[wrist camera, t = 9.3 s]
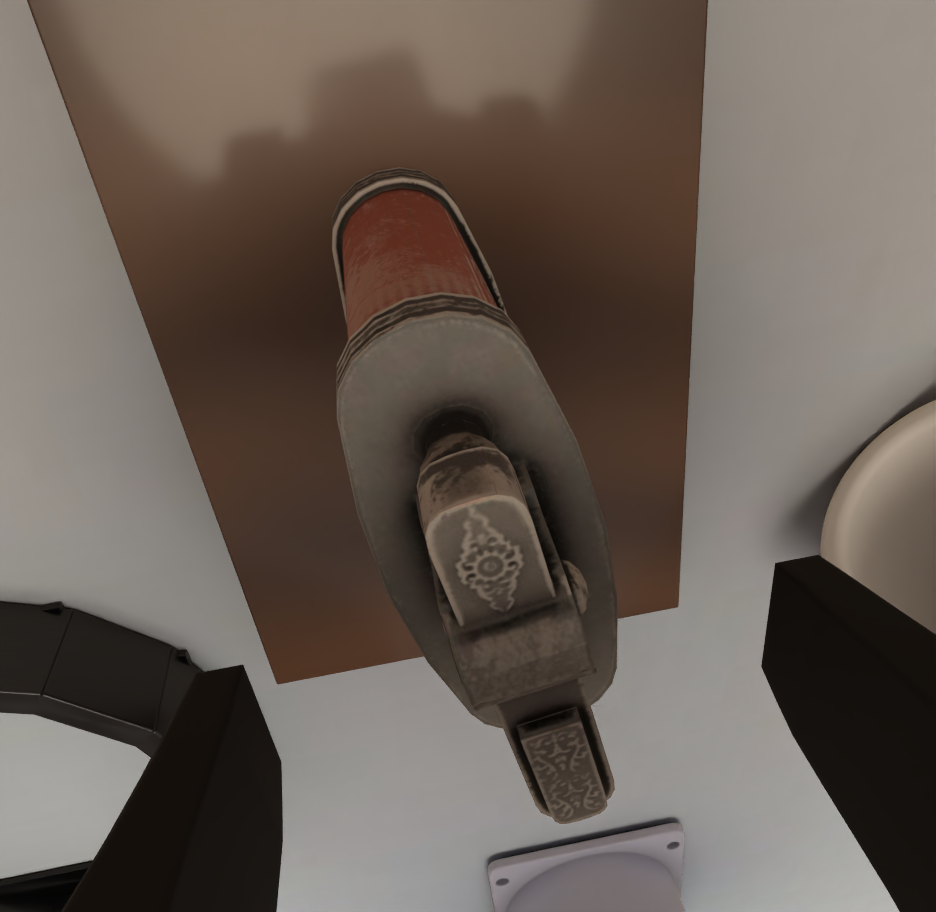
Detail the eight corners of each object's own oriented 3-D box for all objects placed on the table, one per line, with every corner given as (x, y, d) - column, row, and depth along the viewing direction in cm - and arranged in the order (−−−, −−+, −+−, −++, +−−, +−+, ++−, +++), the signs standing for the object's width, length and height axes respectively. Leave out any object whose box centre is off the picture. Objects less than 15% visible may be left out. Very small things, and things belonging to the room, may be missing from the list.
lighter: (295, 199, 16) (262, 486, 7) (457, 143, 16) (608, 371, 7) (420, 504, 20) (488, 895, 12) (547, 462, 20) (704, 828, 12)
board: (664, 580, 25) (679, 607, 24) (278, 654, 24) (276, 685, 23) (694, -281, 14) (723, -299, 13) (-21, -195, 13) (-50, -207, 12)
